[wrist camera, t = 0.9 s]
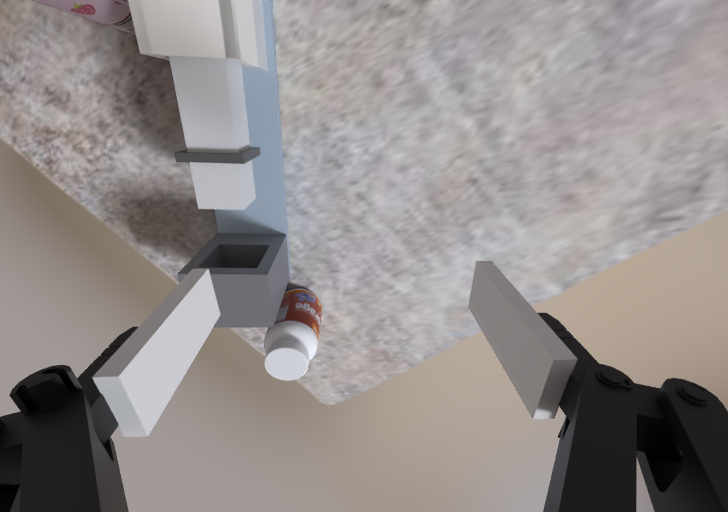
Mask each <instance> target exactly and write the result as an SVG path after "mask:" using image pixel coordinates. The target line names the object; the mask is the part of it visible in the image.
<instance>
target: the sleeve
mask: <svg viewBox="0 0 728 512" xmlns="http://www.w3.org/2000/svg"><path fill="white" fill-rule="evenodd" d="M128 2H129V7H130V11H131V16H132V20H133V25H134V29H135V33H136V38H137V42H138V47H139V51H140V54H144V55H148V56H152V57H157V58H161V59H165V60H169V61H170V59H169V56H174V57H193V58H213V59H230V60H233V61H235V62H238V63H240V64H241V66H242V70H254V71H268V70H267V57H266V44H265V32H264V19H263V7H262V0H128Z"/></svg>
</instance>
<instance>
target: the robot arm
mask: <svg viewBox="0 0 728 512" xmlns="http://www.w3.org/2000/svg"><path fill="white" fill-rule="evenodd" d="M469 309H470V310H471V312H472V314H473V316H474V317H475V319H476V321H477V323H478V324H479V326H480V328H481V330H482V331H483V333H484V335H485V336H486V338H487V340H488V342H489V343H490V345H491V347H492V349H493V350H494V352H495V354H496V356H497V357H498V359H499V361H500V363H501V364H502V366H503V368H504V369H505V371H506V373H507V375H508V376H509V378H510V380H511V382H512V383H513V385H514V387H515V389H516V391H517V392H518V394H519V396H520V397H521V399H522V401H523V403H524V404H525V406H526V408H527V410H528V411H529V413H530V415H531V417H532V418H533V419H548V418H555V416H556V413H557V411H558V408H559V406H560V408H561V409H562V410H563V412H564V414H565V415H566V418H565V421H564V424H563V426H562V428H561V430H560V433H559V435H558V438H560V441H559V445H558V450H557V454H556V459H555V463H554V467H553V472H552V476H551V481H550V485H549V489H548V494H547V498H546V502H545V506H544V511H543V512H636V458H638V461H639V465H640V468H641V471H642V474H643V477H644V480H645V483H646V486H647V489H648V493H649V495H650V499H651V502H652V505H653V508H654V511H655V512H728V411H727V410H726V408H725V407H724V405H723V404H722V403H721V401H720V400H719V399H718V398H717V397H716V396H715V395H713V394H712V393H711V392H709V391H708V390H707V389H705V388H703V387H701V386H699V385H697V384H695V383H692V382H689V381H686V380H683V379H676V378H671V379H667V380H666V381H665V382H664V383H663V385H662V387H661V388H655V387H650V386H645V385H640V384H635V383H633V381H632V380H631V379H630V378H629V377H628V376H627V375H625V374H624V373H622V372H621V371H619V370H617V369H615V368H613V367H610V366H607V365H603V364H599V363H598V362H597V361H596V360H595V359H594V358H593V357H592V356H591V355H590V353H589V352H588V351H587V350H586V349H585V348H584V347H583V346H582V345H581V344H580V343H579V342H578V341H577V340H576V339H575V338H574V337H573V335H571V333H569V331H567V329H566V328H565V327H564V326H563V325H562V324H561V323H560V322H559V321H558V320H557V319H555V318H553V317H552V316H550V315H549V314H547V313H537V312H536V311H535V310H534V309H533V308H532V307H531V305H530V304H529V303H528V302H527V301H526V300H525V299H524V297H523V296H522V295H521V294H520V293H519V292H518V291H517V290H516V288H515V287H514V286H513V285H512V284H511V283H510V282H509V280H508V279H507V278H506V277H505V276H504V275H503V274H502V272H501V271H500V270H499V269H498V268H497V267H496V266H495V265H494V263H493V262H492V261H476V266H475V271H474V277H473V283H472V289H471V295H470V301H469ZM219 316H220V311H219V307H218V303H217V299H216V295H215V292H214V288H213V284H212V280H211V276H210V272H209V269H192V270H191V271H190V272H189V273H188V274H187V275H186V276H185V277H184V279H183V280H182V281H181V282H180V283H179V284H178V285H177V286H176V287H175V288H174V289H173V290H172V292H171V293H170V294H169V295H168V296H167V297H166V298H165V299H164V300H163V301H162V302H161V304H160V305H159V306H158V307H157V308H156V309H155V310H154V311H153V312H152V313H151V314H150V315H149V316H148V317H147V319H146V320H145V321H144V322H143V323H142V324H141V325H140V326H139V327H132V328H130V329H129V330H127V331H126V332H124V333H122V334H121V335H119V336H118V337H117V338H116V339H115V340H114V341H113V343H111V345H109V348H107V349H105V350H104V351H103V353H102V354H101V356H99V357H98V358H97V359H96V360H95V361H94V362H93V363H92V364H91V365H90V366H89V367H88V368H87V369H86V370H85V371H84V372H83V373H82V374H81V375H80V376H79V377H78V378H76V376H75V375H74V373H73V371H72V370H71V368H70V367H69V366H66V365H57V366H51V367H48V368H45V369H42V370H40V371H37V372H35V373H33V374H31V375H29V376H28V377H26V378H25V379H23V380H22V381H20V382H19V383H18V384H17V385H16V386H15V387H14V388H13V389H12V391H11V393H10V397H11V398H12V400H13V401H14V402H15V404H16V405H17V407H18V408H19V409H20V410H21V412H17V413H13V414H9V415H5V416H2V417H0V512H128V507H127V502H126V498H125V494H124V488H123V484H122V479H121V474H120V470H119V466H118V460H117V456H116V451H115V446H114V443H113V441H112V439H111V437H110V436H111V435H112V434H113V432H114V431H115V429H116V428H117V427H118V426H119V428H120V430H121V432H122V433H123V435H124V437H142V436H148V435H149V433H150V432H151V430H152V429H153V427H154V425H155V424H156V422H157V420H158V419H159V417H160V415H161V413H162V412H163V410H164V408H165V407H166V405H167V403H168V402H169V400H170V398H171V397H172V395H173V393H174V392H175V390H176V388H177V387H178V385H179V383H180V382H181V380H182V378H183V377H184V375H185V373H186V372H187V370H188V368H189V366H190V365H191V363H192V362H193V360H194V358H195V357H196V355H197V353H198V352H199V350H200V348H201V347H202V345H203V343H204V342H205V340H206V338H207V337H208V335H209V333H210V331H211V330H212V328H213V327H214V325H215V323H216V321H217V320H218V318H219Z"/></svg>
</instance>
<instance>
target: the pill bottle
mask: <svg viewBox="0 0 728 512" xmlns="http://www.w3.org/2000/svg"><path fill="white" fill-rule="evenodd" d="M321 317H322V303H321V301H320V299H319V298H318V296H317V295H315V294H314V293H313V292H311V291H309V290H306V289H299V288H298V289H291V290H289V291H287V292H285V293H284V296H283V299H282V302H281V305H280V308H279V311H278V314H277V317H276V320H275V323H274V326H273V327H269V328H268V330H267V333H266V336H265V339H264V348H265V351H266V357H265V361H264V365H265V368H266V370H267V372H268V373H269V374H270V375H272V376H273V377H275V378H277V379H280V380H295V379H298V378H300V377H301V376H303V375H304V374H305V372H306V371H307V369H308V364H309V361H310V360H311V359H312V358H313V356H314V355H315V353H316V350H317V346H318V338H319V331H320V324H321Z"/></svg>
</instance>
